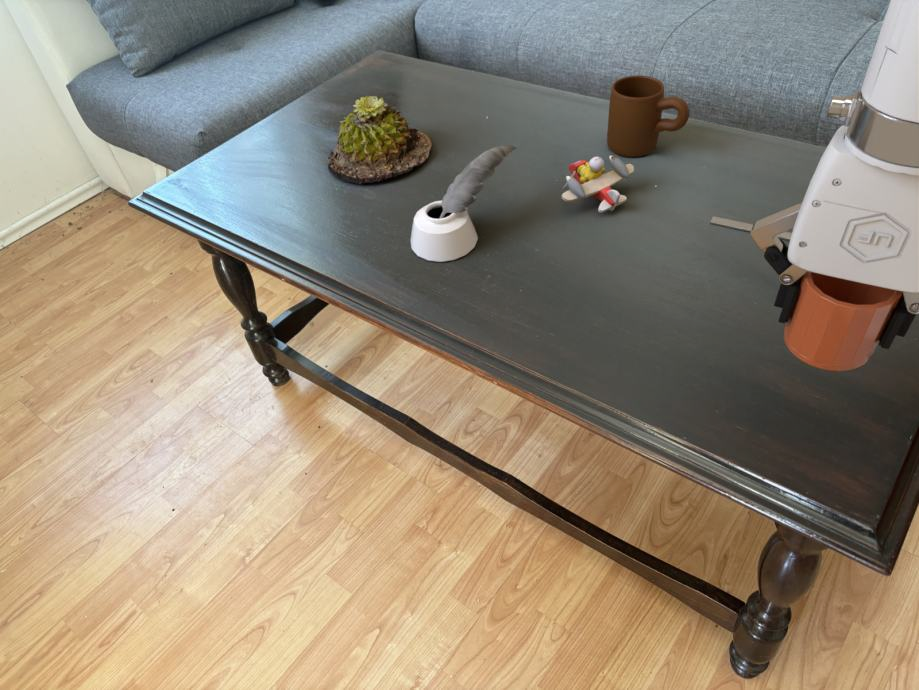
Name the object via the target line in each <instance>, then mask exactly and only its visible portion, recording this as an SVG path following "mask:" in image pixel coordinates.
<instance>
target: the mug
mask: <svg viewBox="0 0 919 690" xmlns="http://www.w3.org/2000/svg"><path fill="white" fill-rule="evenodd" d="M608 105H609V106H608V119H607V133H606V134H607V135H606V144H607V147H608V149H609V150H610V151H611V152H612V153H614V154H615V155H618V156H621V157H625V158H639V157H644V156H647V155H648V154H651V153H652V152H653V151H654V150H656V147H657V145H658V141H659V137H660V135H659V134H660V133H661V132H677V131H679V130H681V129H683V128H684V127H685V126H686V124H687V123H688V121H689V118H690V108H689V105H688V103H687V102H686V101H685V100H684V99H683V98H681V97H678V96H667V97H665V85H664V83H663V82H662V81H661V80H660V79H658V78H655V77H653V76H649V75H641V74H639V75H627V76H625V77H622V78H619V79H617V80H616V81H614V82H613V84H612V86H611V91H610V96H609V104H608ZM672 109H673V110H676V111H677V116H676V117H675V118H673V119H672V118H666V117H665V118H662V115H663V111H664V110H672Z"/></svg>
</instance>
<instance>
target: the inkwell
mask: <svg viewBox="0 0 919 690" xmlns="http://www.w3.org/2000/svg"><path fill="white" fill-rule="evenodd" d="M516 149H517V147H516V146H515V145H512V144H505V145H504V144H503V145H499V146H495V147H492V148H490V149H488V150H485V151H484V152H482V153H481V154H479V155H478V156H477V157H475V158H474V159H472V160H471V161H470V162H469V163H468V164H467V165H466V166H465V167H464V169H463V170H462V171H461V172H459V173H457V175H456V176H455V178H454V180H453V182H452V183H450V184H449V185H448V187H447V190H446V193H445V194H444V195H443V197H442V199H441V200H435V201H433V202H430V203H428V204H426V205H424V206H422V207H421V208H420V209H419V210H417V212H416V213H415V215H414V217H413V220H412V226H411V233H410V247H411V250H412V251H413V252H414V254H416V257H418V258H421V259H423V260H426V261H429V262H435V263H436V262H437V263H446V262H450V261H455V260H458V259H460V258H463V257H465V256H467V255H468V254H469V253H470V252H471V251H472V250H473V249H475V248H476V244H477V242H478V240H479V236H478V233H477V229H476V227H475V225H474V223H473V220H472V218H471V216H470V213H469V211H468V210H469V208H468V207H469V206H471V205H472V204H474V203H475V202H476V201H477V197H476V195H478V194H480V192H481V191H482V190H483V188H484V182H485V181H487V180H489V179H490V178H491V177H492V176H493V175H494V174H495V173H496V171H497V169H496V167H498V166H500V165H501V164H502V162H503V161H504V159H505V158H507V157H508V156H509V155H510V153H512V152H514V151H515V150H516Z"/></svg>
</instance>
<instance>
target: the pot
mask: <svg viewBox="0 0 919 690" xmlns="http://www.w3.org/2000/svg"><path fill="white" fill-rule="evenodd" d="M800 284H801V285H800V288H799V291H798V294H797V297H796V300H795V303H794V306H793V308H792V311H791V314H790V317H789V320H788V323H787V322H785V323H786V324H785V327H784V330H783V340H784V343H785V346H786V347H787V349H788V350H789V351H790V353H791V354H792V355H793V356H794V357H796V358H797V359H798V360H799V361H801V362H803V363H805V364H807V365H809V366H811V367H813V368H817V369H820V370H825V371H831V372H846V371H851V370H855V369H858V368H860V367H862V366H863V365H865V364H866V363H867V362H868V361H869V360H870V359H871V357H872V355H873V354H874V353H875V350H876V349H877V347H878V345H879V341H880V338H881V336H882V334H883V332H884V330H885V328H886V326H887V324H888V322H889V320H890V318H891V316H892V314H893V312H894V310H895V308H896V306H897V304H898V302H899V300H900V298H901V296H902V291H897V290H892V289H887V288H882V287H877V286H873V285H868V284H863V283H859V282H854V281H849V280H845V279H840V278H836V277H831V276H827V275H822V274H818V273H813V272H810V271H808V272H807V273H805V274H804V275H803V277H802V280H801V283H800Z"/></svg>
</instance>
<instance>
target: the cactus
mask: <svg viewBox="0 0 919 690" xmlns="http://www.w3.org/2000/svg"><path fill="white" fill-rule="evenodd" d="M352 107H353V108H355V109H353V110H352V111H353V112H350V113H349V114H348V115H347V116H346V117H345V116H343V118H344V120H340V126H339V129H338V131H339V132H338V135H337V136H338V138H337V142H336V146H335V148H334V149H332V150H331V151H330V152H329V156H328V157H327V167H328V171H329V173H330V174H331V175H333V176H334V177H335V178H336V179H338V180H340V181H342V182H347V183H355V184H356V185H357V184H358V185H362V184H367V183H368V184H369V183H370V184H371V183H375V182H380V181H382V180H383V181H384V180H387V179H388V178H389V179H391V178H396V177H397V176H400V175H403V174H404V173H405V174H407V173H408V172H410V171H412V170H413V168H416V167H419V166H421V165H422V164H423V163H424V162H426V160H427V159H428V158H429V155H430V152H431V149H432V145H433V144H432V141H431V139H430V137H429V136H428V134H426V133H424V132H422V131H420V130H419V129H417V128H415V127H414V128H411V127H409V125H410V123H408V122H407V119H406V117H404V116H403V115H401V111H397V109H395V107H392V105H390V106H389V105H388V102H385V101H384V98H383V97H382V96H381V97H380V98H378V96H376V95H372V96H371V95H365V97H364V96H361V97H360V99H356V100H355V104H353V105H352Z"/></svg>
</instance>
